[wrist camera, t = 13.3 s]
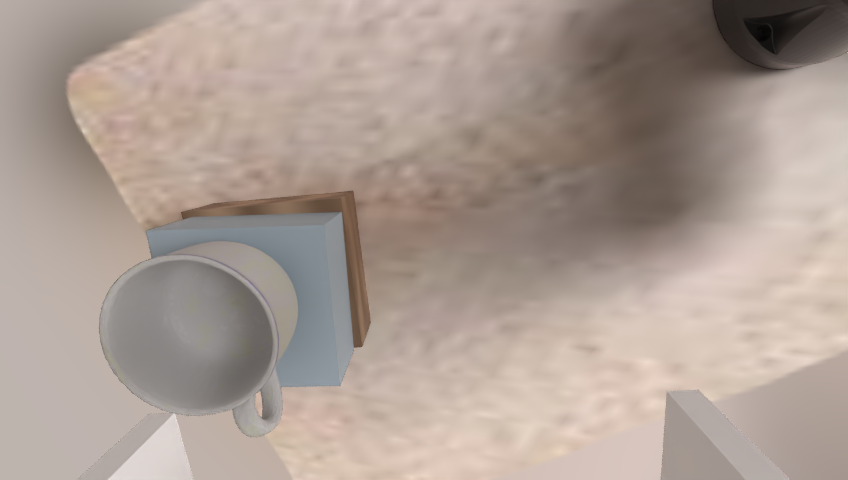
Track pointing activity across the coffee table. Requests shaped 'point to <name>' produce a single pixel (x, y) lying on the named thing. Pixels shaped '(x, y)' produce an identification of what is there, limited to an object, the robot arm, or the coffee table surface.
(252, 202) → the base block
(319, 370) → the top block
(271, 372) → the teacup
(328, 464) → the coffee table surface
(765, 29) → the robot arm
